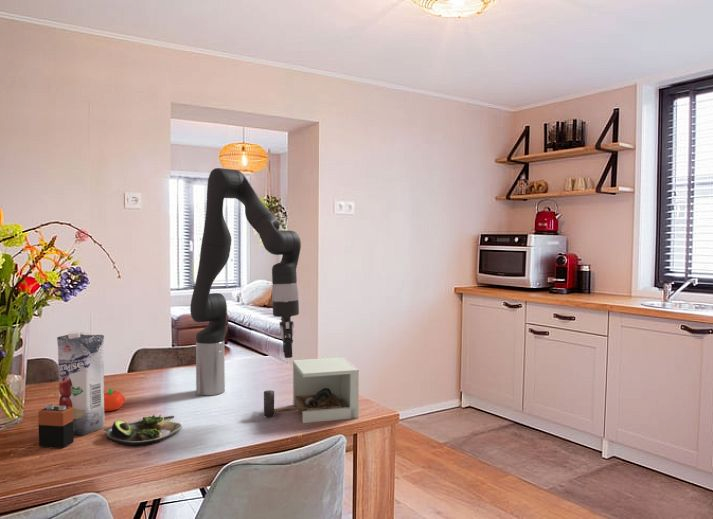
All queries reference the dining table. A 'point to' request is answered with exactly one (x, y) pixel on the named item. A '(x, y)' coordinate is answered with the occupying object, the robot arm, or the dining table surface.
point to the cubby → (327, 386)
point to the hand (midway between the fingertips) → (287, 355)
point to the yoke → (300, 404)
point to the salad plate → (142, 431)
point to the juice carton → (82, 379)
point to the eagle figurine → (319, 398)
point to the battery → (55, 426)
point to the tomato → (113, 400)
